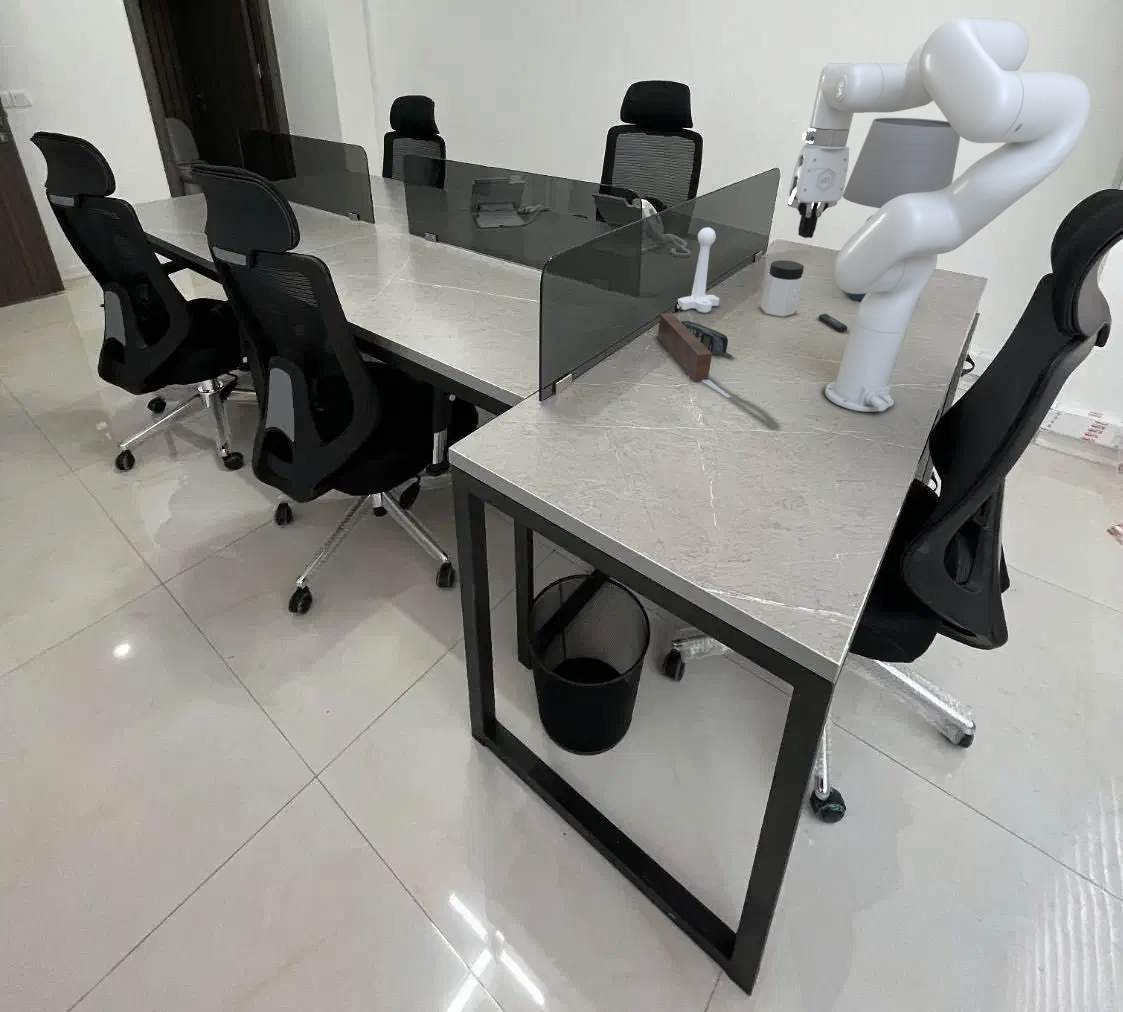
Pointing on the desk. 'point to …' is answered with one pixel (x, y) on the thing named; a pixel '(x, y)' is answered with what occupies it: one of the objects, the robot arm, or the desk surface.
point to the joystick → (701, 277)
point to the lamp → (902, 162)
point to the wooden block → (684, 347)
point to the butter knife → (715, 387)
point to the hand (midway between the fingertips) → (805, 236)
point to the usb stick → (833, 322)
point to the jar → (782, 288)
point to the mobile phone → (709, 338)
